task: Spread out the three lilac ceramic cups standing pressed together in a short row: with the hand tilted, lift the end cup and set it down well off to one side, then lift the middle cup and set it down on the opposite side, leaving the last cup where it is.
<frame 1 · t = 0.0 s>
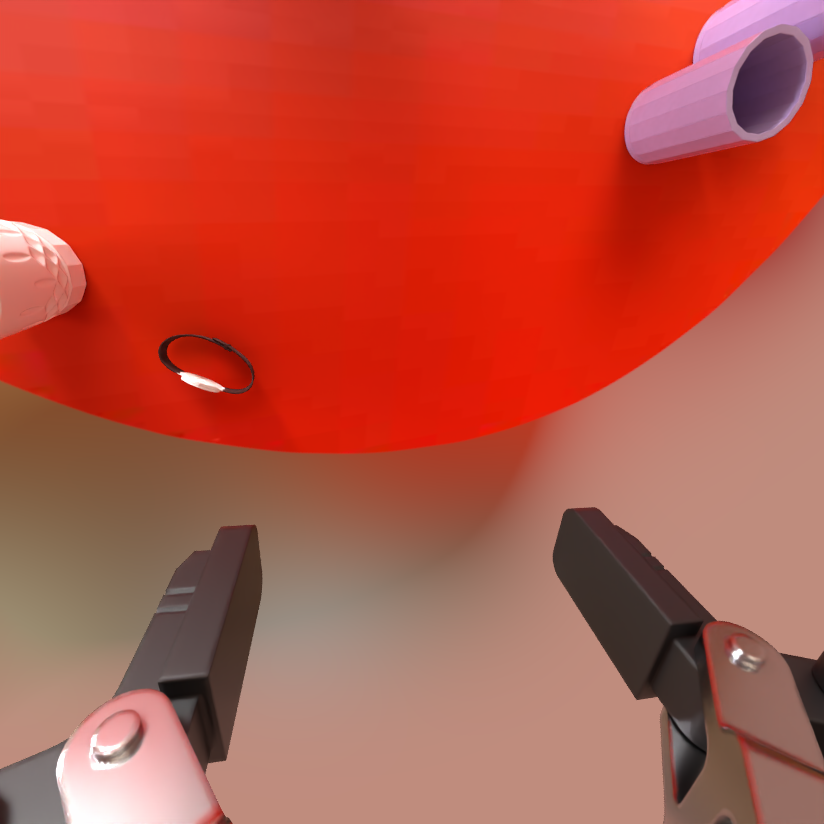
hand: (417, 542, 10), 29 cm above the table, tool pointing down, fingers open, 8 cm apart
end cup: (656, 124, 34), on the table
middle cup: (725, 51, 33), on the table
white cup: (39, 270, 31), on the table
watch: (215, 359, 36), on the table
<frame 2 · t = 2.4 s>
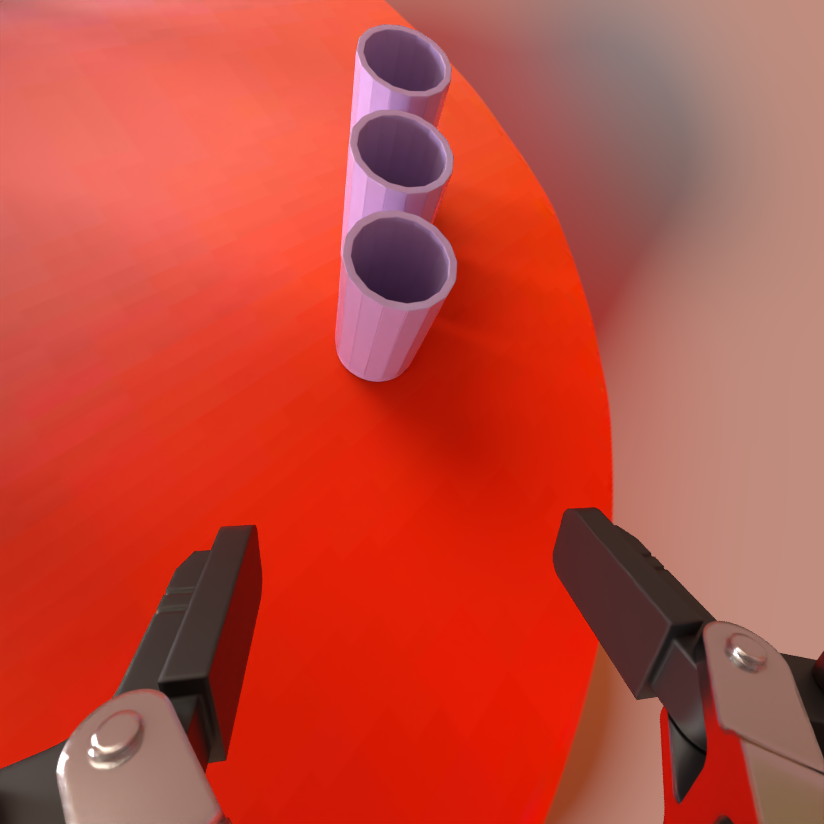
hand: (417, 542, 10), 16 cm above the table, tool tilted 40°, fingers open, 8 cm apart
last cup: (381, 190, 34), on the table
end cup: (375, 344, 29), on the table
middle cup: (378, 262, 32), on the table
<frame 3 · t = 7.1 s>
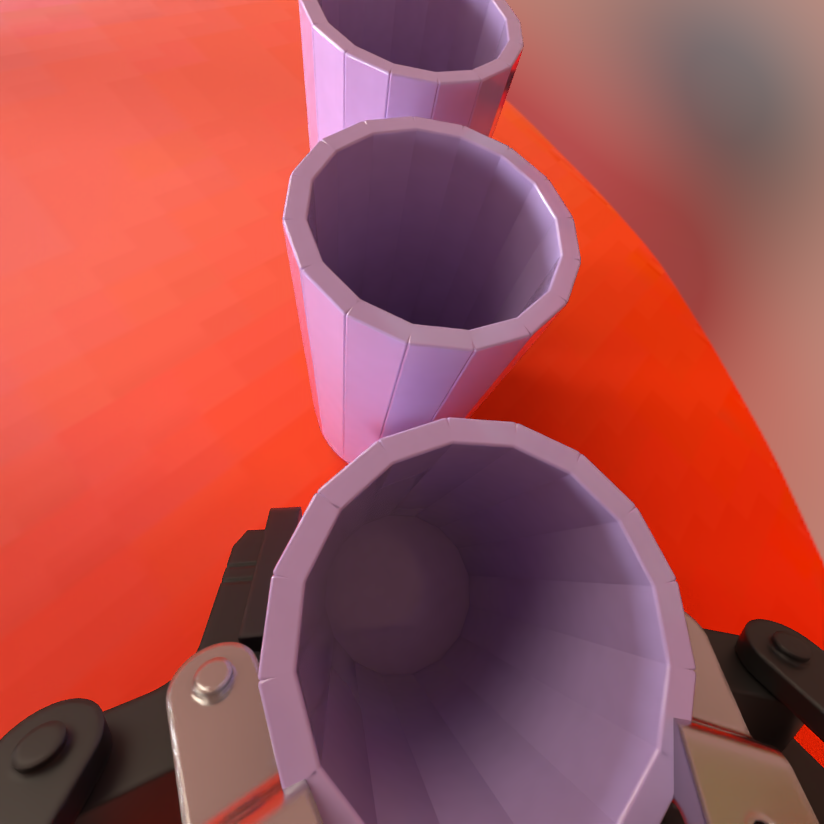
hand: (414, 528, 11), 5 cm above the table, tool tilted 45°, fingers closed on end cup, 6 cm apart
last cup: (381, 270, 20), on the table
end cup: (396, 588, 14), on the table, touching gripper
middle cup: (387, 406, 17), on the table
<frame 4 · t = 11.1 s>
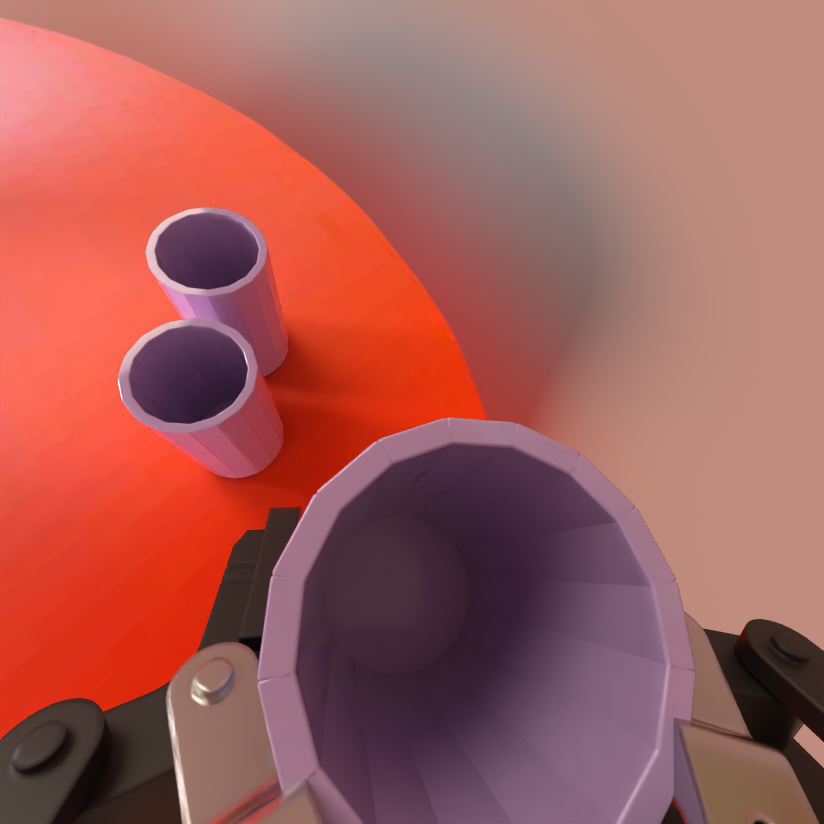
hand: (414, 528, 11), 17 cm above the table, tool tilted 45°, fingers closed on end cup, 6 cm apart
last cup: (248, 345, 30), on the table
end cup: (396, 589, 14), point 12 cm above the table, touching gripper
middle cup: (239, 436, 28), on the table
when the fingers open (5 cm above the table, at t = 15.3 s): end cup stays where it is, on the table.
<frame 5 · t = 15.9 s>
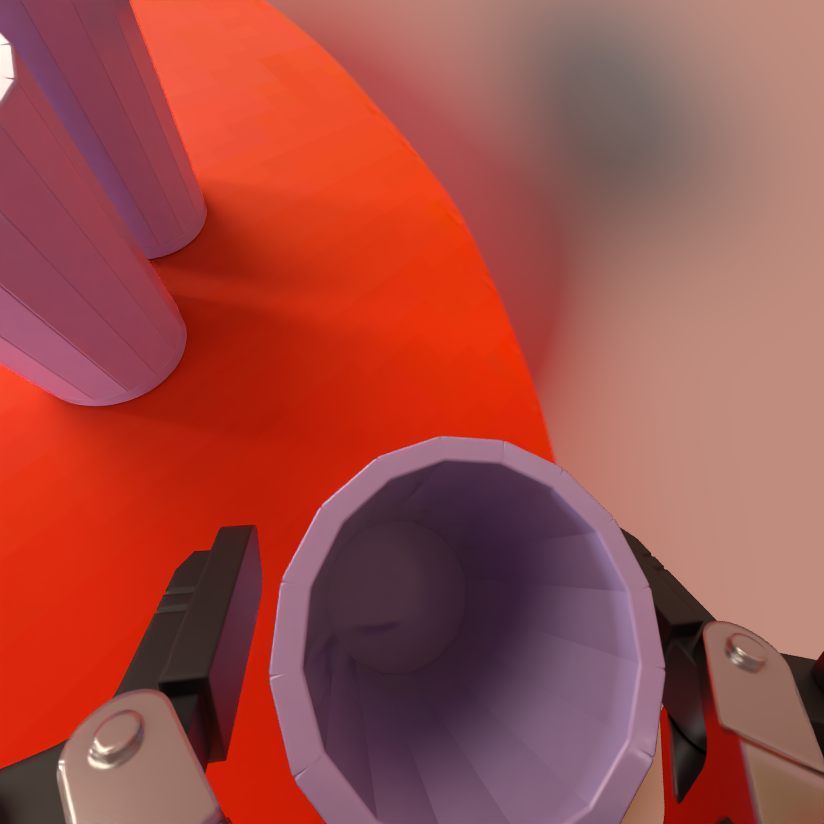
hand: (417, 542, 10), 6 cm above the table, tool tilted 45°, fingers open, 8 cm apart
last cup: (141, 212, 19), on the table
end cup: (396, 591, 15), on the table
middle cup: (110, 341, 17), on the table
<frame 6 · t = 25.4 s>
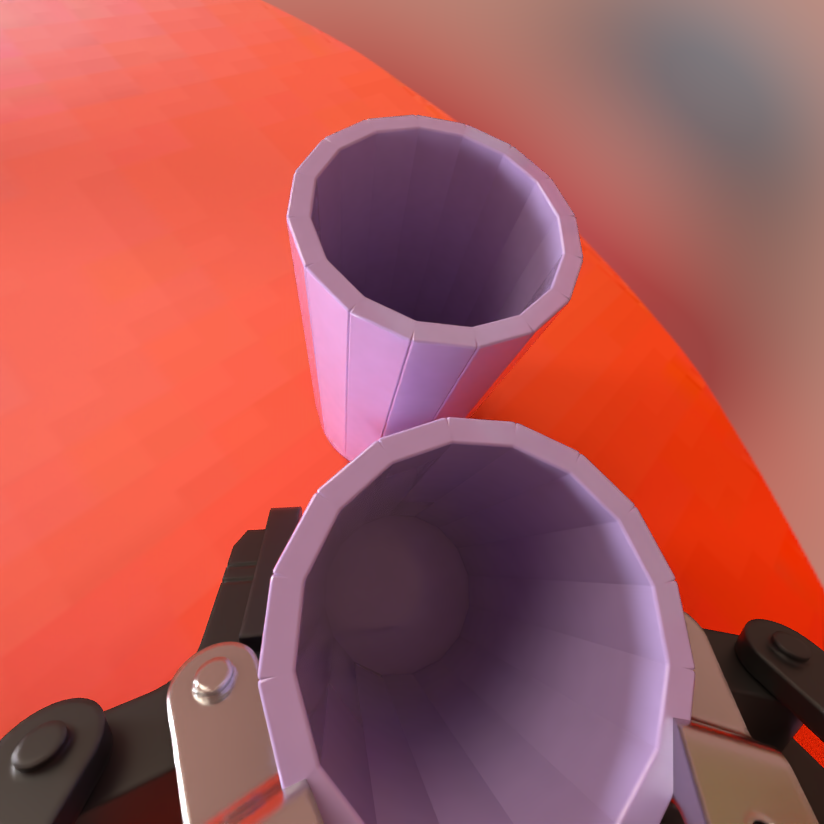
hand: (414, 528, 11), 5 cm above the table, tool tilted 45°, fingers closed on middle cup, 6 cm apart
last cup: (388, 405, 17), on the table
middle cup: (396, 588, 14), on the table, touching gripper
when the fingers open (5 cm above the table, at t = 33.5 s): middle cup stays where it is, on the table.
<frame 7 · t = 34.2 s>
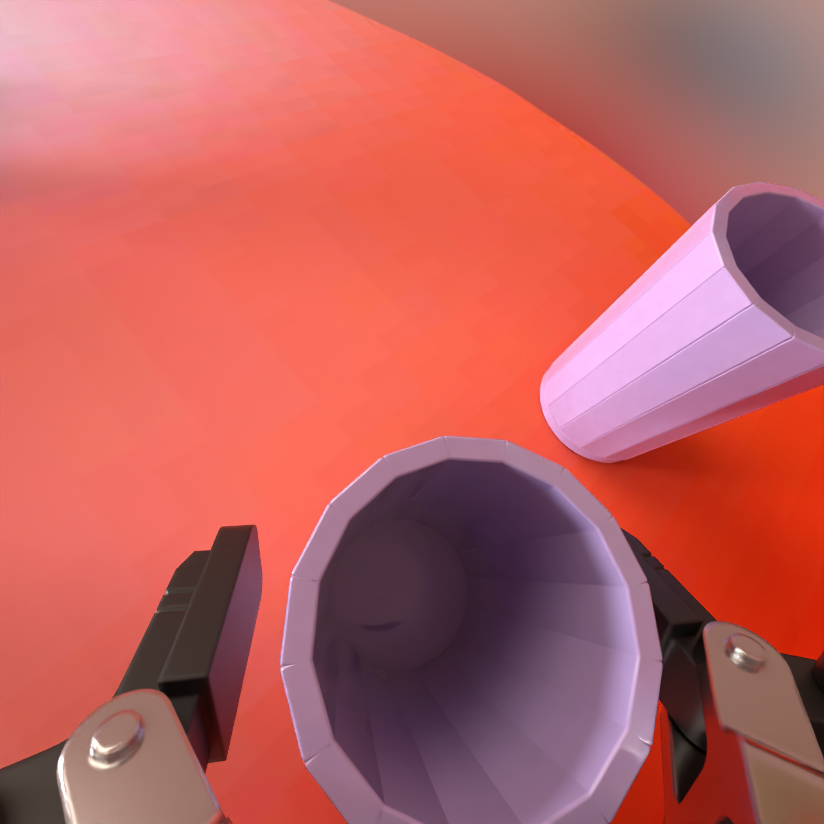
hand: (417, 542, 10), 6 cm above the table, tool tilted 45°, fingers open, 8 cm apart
last cup: (595, 405, 20), on the table
middle cup: (398, 589, 15), on the table
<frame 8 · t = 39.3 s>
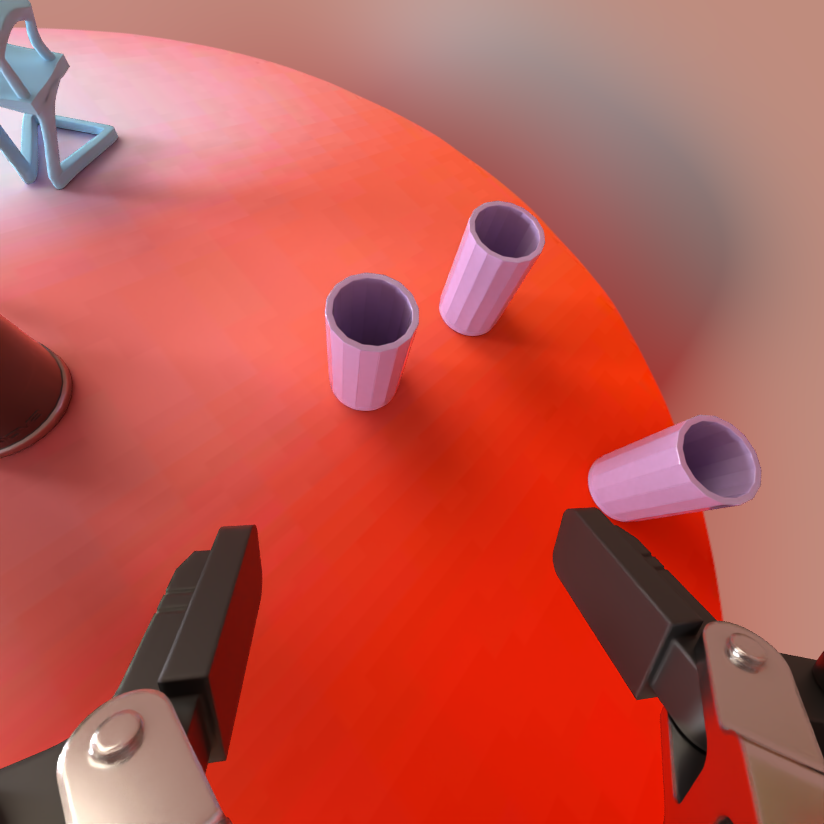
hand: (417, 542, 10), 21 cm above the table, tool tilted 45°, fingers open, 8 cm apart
last cup: (468, 310, 39), on the table
end cup: (619, 487, 35), on the table
chair: (62, 158, 38), on the table
middle cup: (364, 379, 34), on the table
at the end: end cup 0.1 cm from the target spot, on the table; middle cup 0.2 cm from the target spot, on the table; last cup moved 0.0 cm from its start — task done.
